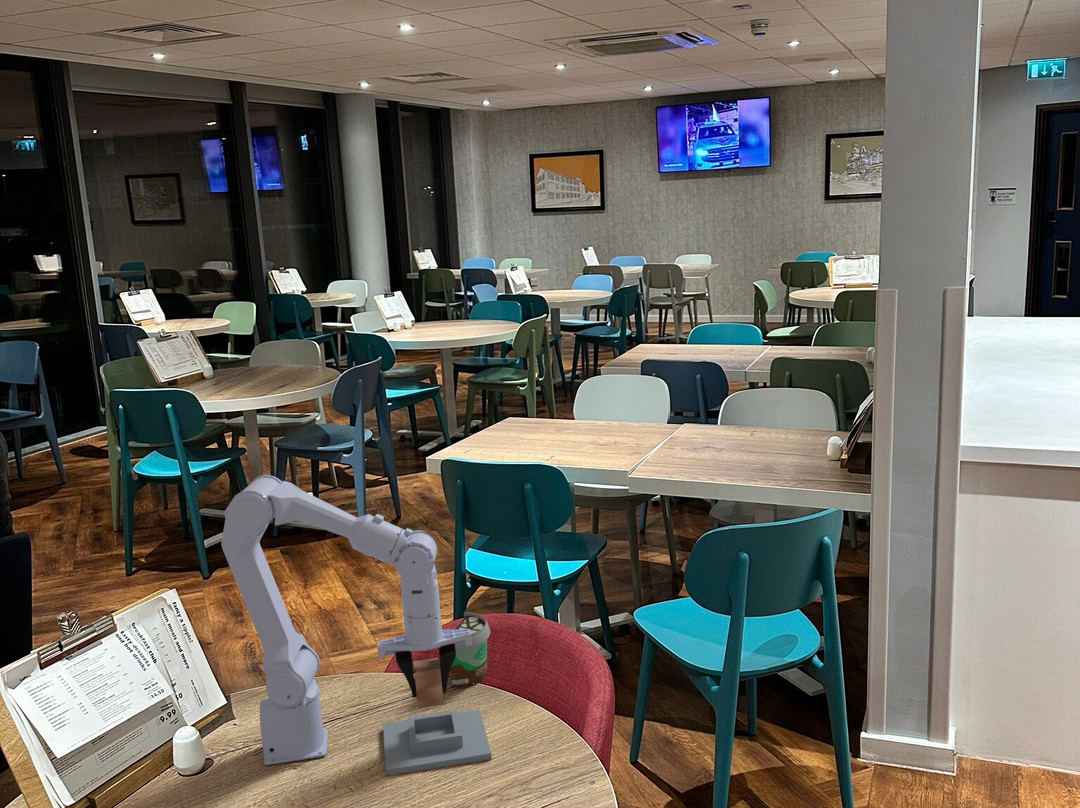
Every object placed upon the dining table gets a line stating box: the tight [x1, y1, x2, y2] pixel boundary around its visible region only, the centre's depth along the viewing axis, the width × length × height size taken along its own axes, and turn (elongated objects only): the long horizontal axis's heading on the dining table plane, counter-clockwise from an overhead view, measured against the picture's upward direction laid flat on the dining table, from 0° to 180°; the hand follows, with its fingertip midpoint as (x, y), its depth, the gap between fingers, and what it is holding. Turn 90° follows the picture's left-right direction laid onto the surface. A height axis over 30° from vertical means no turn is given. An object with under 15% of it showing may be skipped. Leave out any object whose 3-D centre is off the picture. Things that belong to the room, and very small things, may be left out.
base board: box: [382, 709, 493, 776], centre depth 151 cm, size 16×14×3 cm
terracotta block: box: [412, 657, 445, 709], centre depth 151 cm, size 4×4×6 cm
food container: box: [449, 611, 491, 689], centre depth 172 cm, size 12×6×10 cm, turn 168°
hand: (429, 692), depth 151 cm, fingers closed on terracotta block, 4 cm apart
